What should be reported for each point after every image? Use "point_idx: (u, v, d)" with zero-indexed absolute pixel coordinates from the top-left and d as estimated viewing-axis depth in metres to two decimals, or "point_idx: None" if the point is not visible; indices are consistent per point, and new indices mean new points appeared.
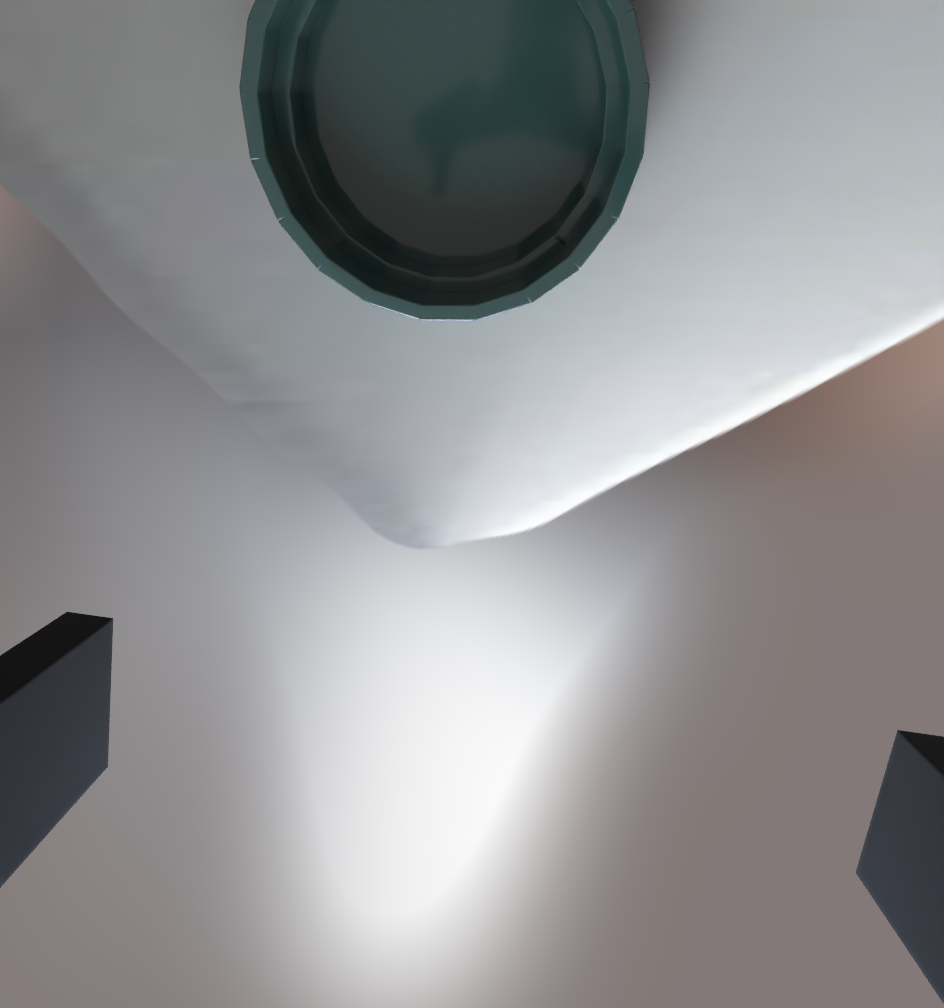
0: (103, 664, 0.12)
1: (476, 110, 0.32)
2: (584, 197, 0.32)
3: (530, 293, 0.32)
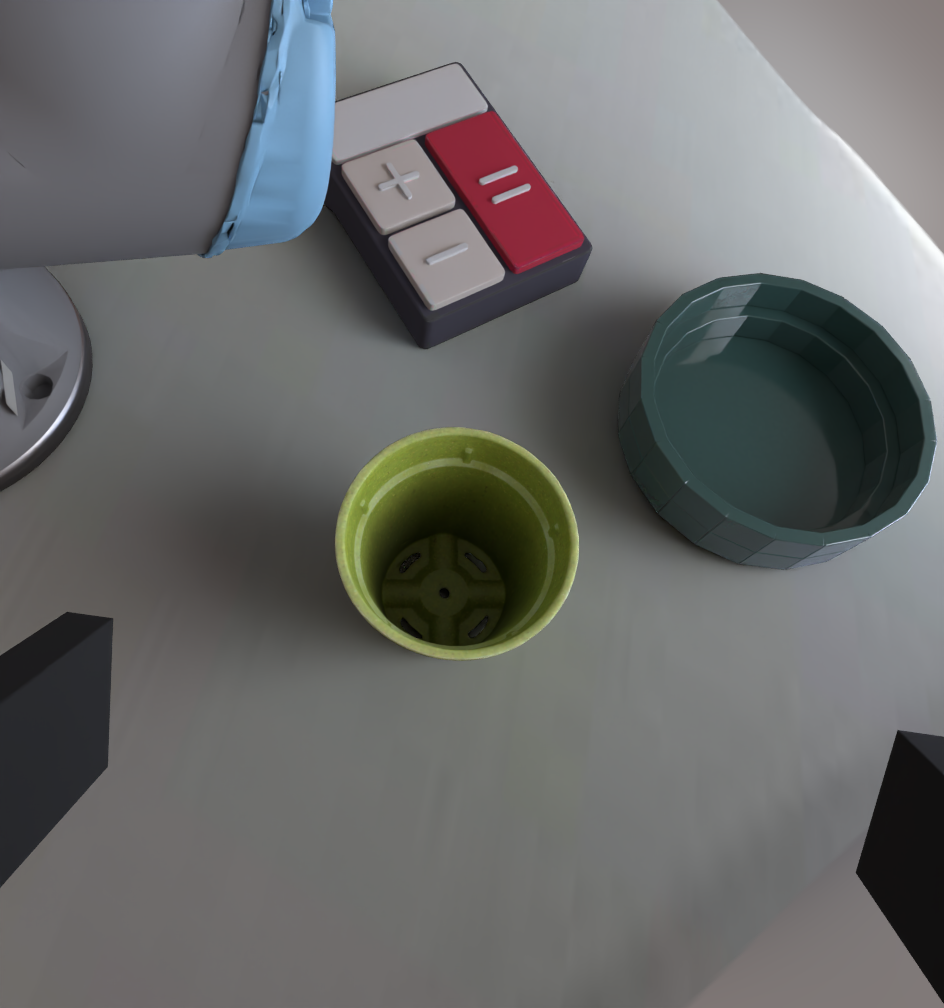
0: (103, 663, 0.12)
1: (751, 416, 0.42)
2: (818, 336, 0.42)
3: (904, 359, 0.40)
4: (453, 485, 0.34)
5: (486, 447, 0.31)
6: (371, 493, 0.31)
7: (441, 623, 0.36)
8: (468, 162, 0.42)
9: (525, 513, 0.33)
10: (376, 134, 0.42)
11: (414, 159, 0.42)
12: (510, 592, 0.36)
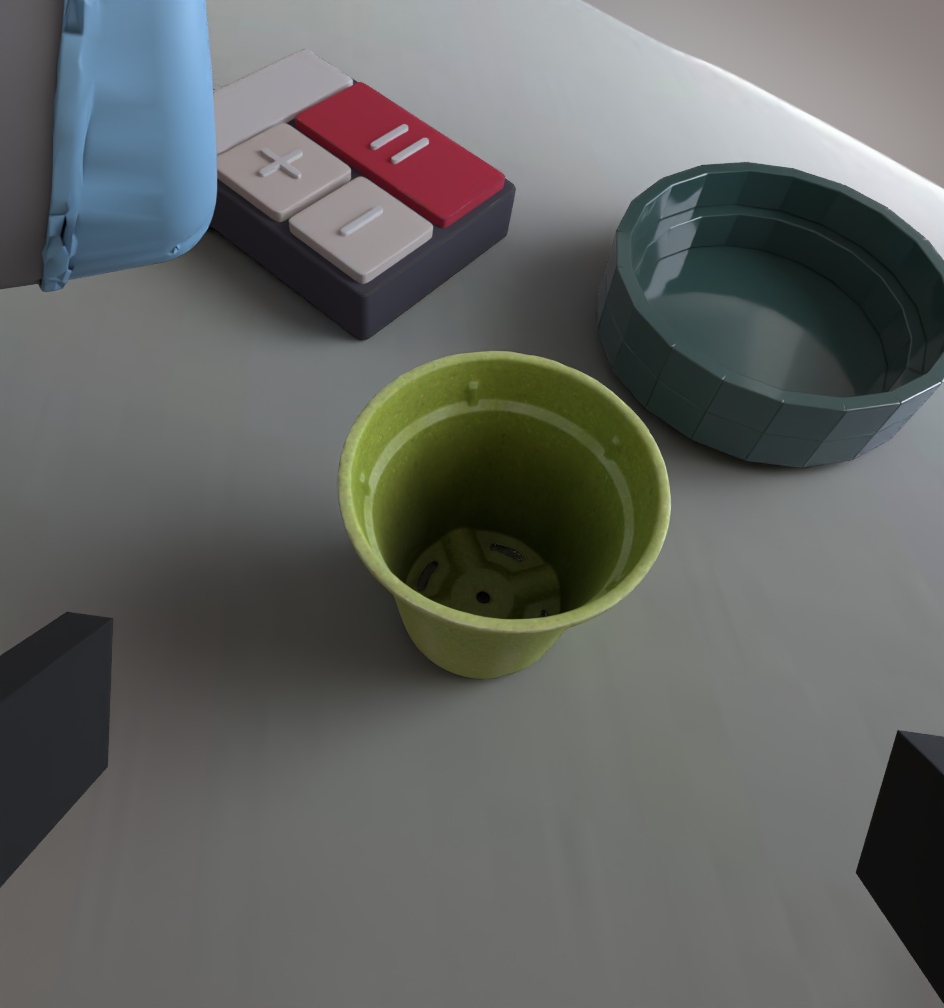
0: (103, 664, 0.12)
1: (743, 318, 0.37)
2: (779, 219, 0.38)
3: (881, 209, 0.36)
4: (460, 447, 0.26)
5: (495, 372, 0.24)
6: (368, 466, 0.23)
7: None
8: (351, 132, 0.37)
9: (564, 449, 0.25)
10: (239, 127, 0.37)
11: (291, 140, 0.36)
12: (565, 569, 0.28)
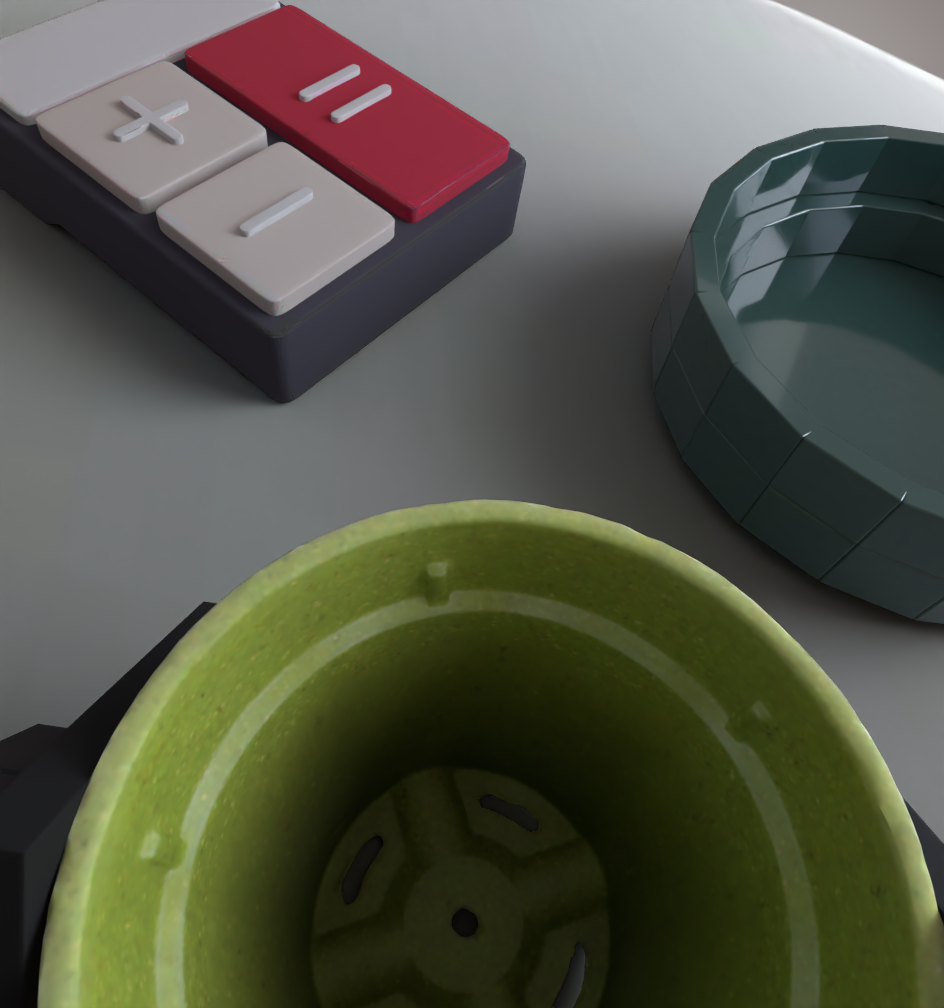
0: None
1: (878, 368, 0.24)
2: (927, 214, 0.25)
3: None
4: (416, 670, 0.13)
5: (485, 545, 0.11)
6: (180, 791, 0.09)
7: None
8: (271, 75, 0.24)
9: (631, 689, 0.12)
10: (94, 67, 0.23)
11: (173, 86, 0.23)
12: (620, 872, 0.15)
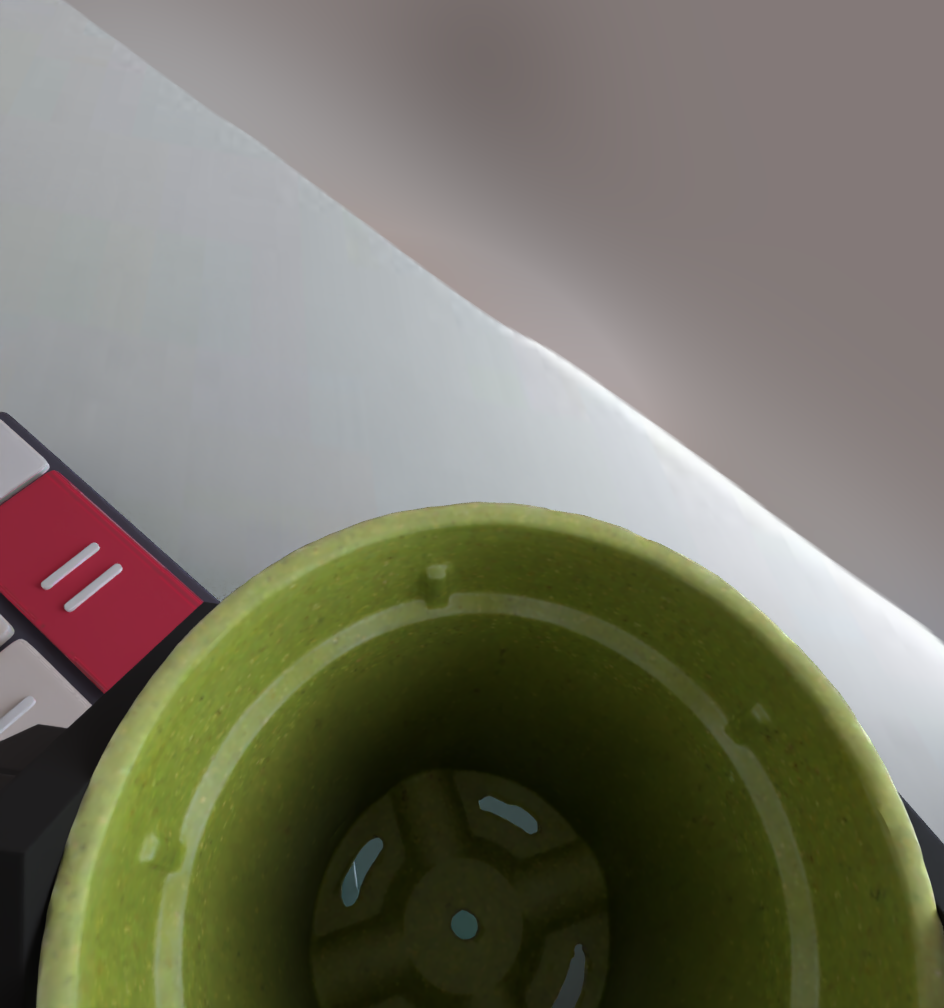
0: None
1: None
2: None
3: None
4: (416, 672, 0.13)
5: (484, 547, 0.11)
6: (179, 794, 0.09)
7: None
8: (22, 561, 0.29)
9: (630, 692, 0.12)
10: None
11: None
12: (620, 874, 0.15)
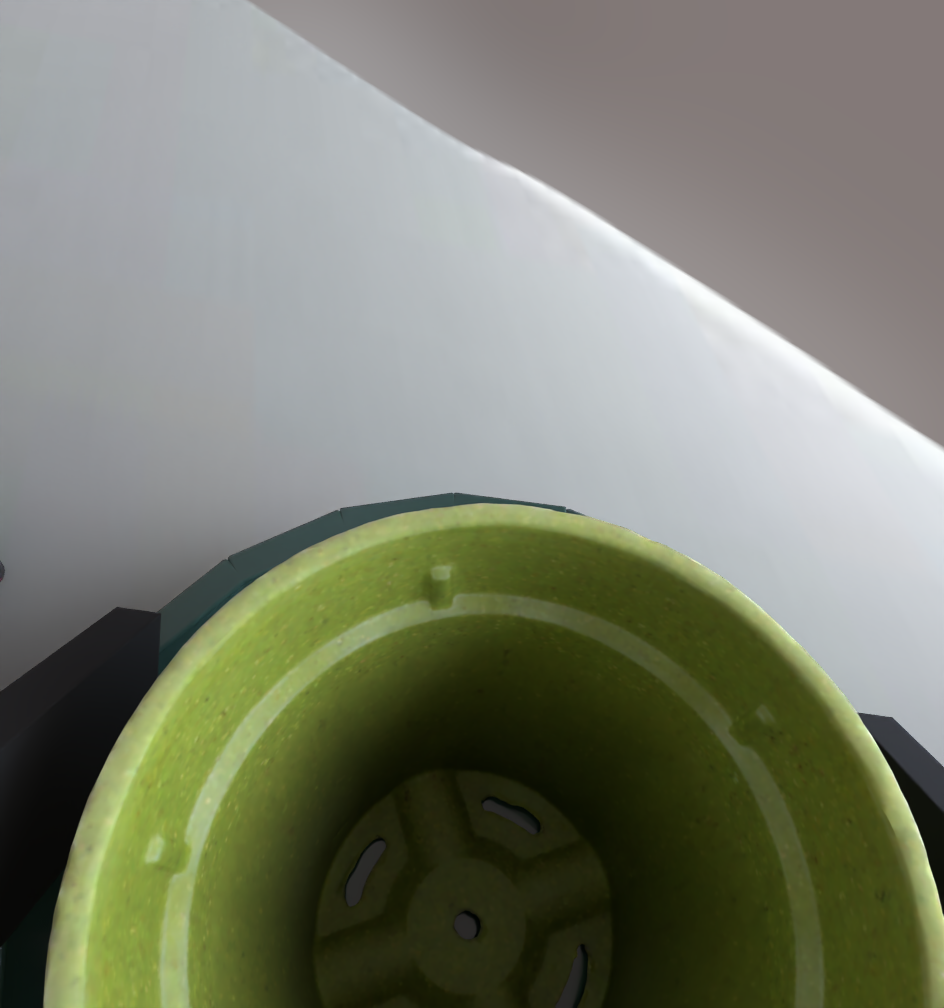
0: (152, 657, 0.13)
1: None
2: None
3: None
4: (419, 673, 0.13)
5: (488, 548, 0.11)
6: (184, 795, 0.09)
7: None
8: None
9: (634, 692, 0.12)
10: None
11: None
12: (623, 874, 0.15)
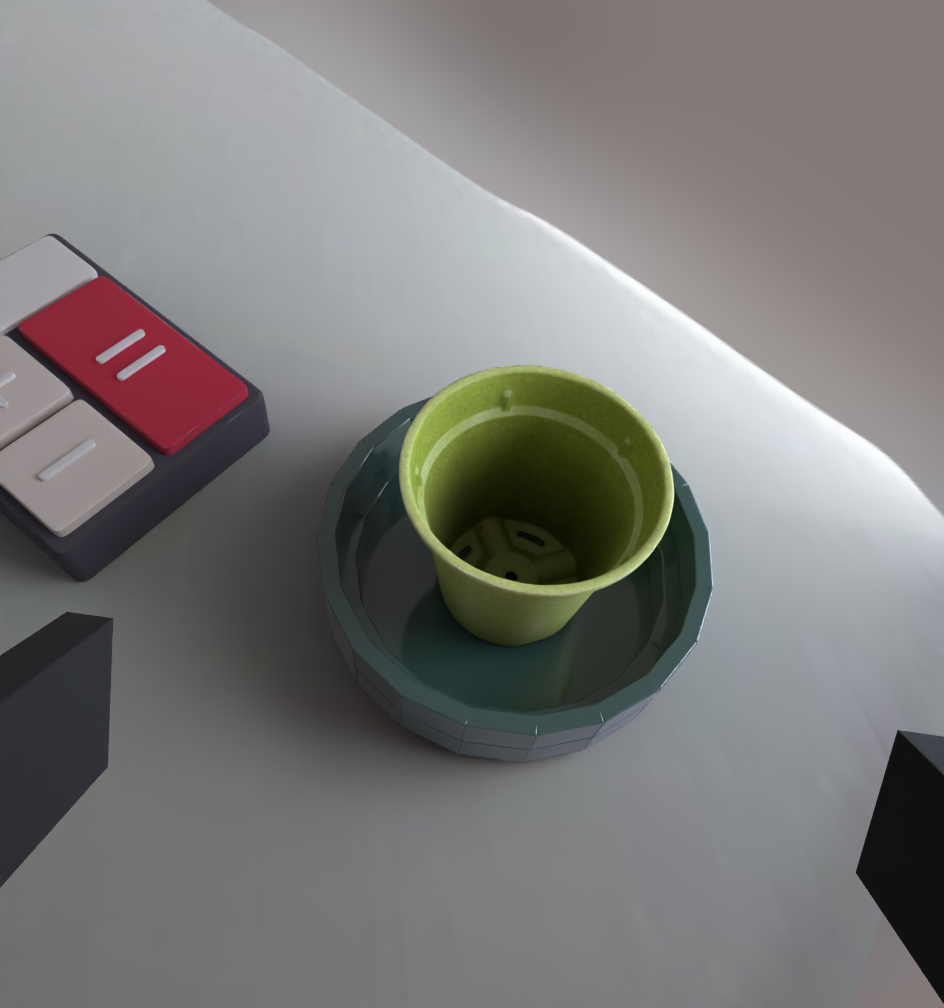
0: (103, 664, 0.12)
1: None
2: None
3: None
4: (494, 447, 0.30)
5: (525, 383, 0.28)
6: (421, 461, 0.27)
7: None
8: (79, 342, 0.34)
9: (583, 448, 0.30)
10: None
11: (6, 358, 0.33)
12: (582, 552, 0.32)
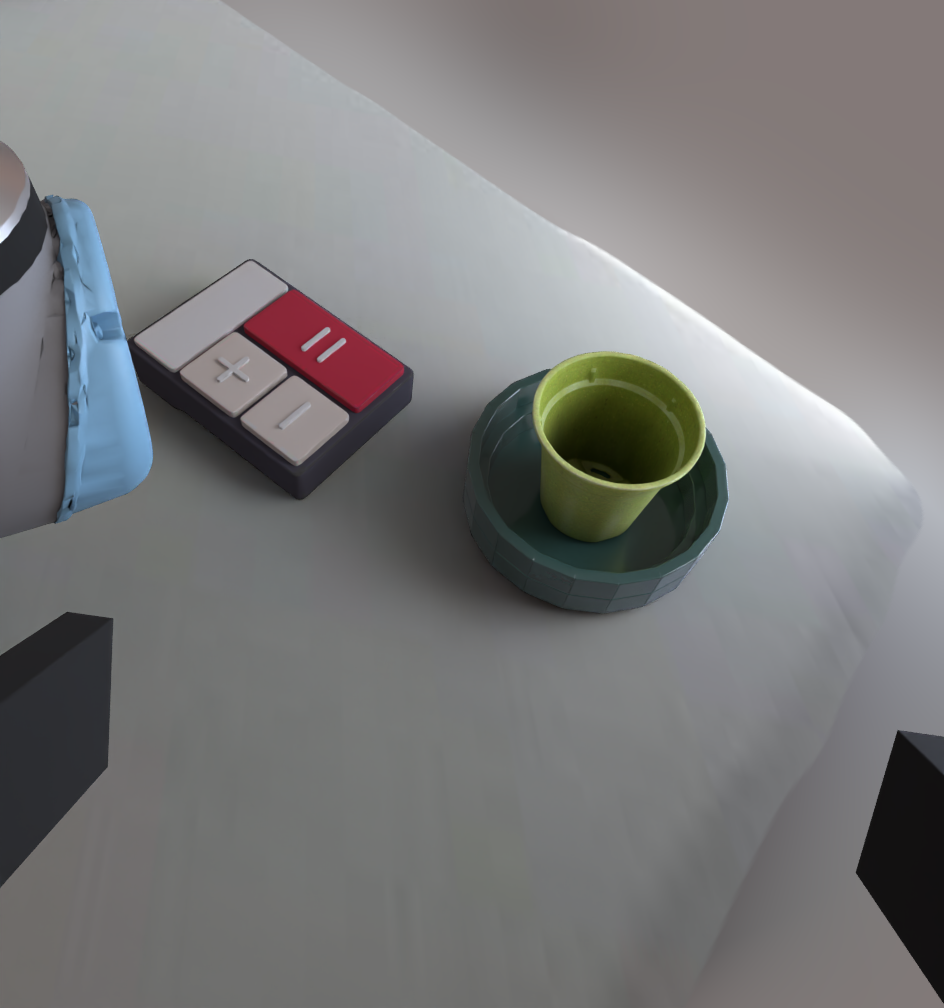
0: (103, 664, 0.12)
1: None
2: None
3: None
4: (581, 407, 0.45)
5: (606, 363, 0.43)
6: (541, 413, 0.42)
7: None
8: (287, 336, 0.49)
9: (642, 407, 0.44)
10: (201, 337, 0.48)
11: (240, 347, 0.48)
12: (638, 480, 0.47)
